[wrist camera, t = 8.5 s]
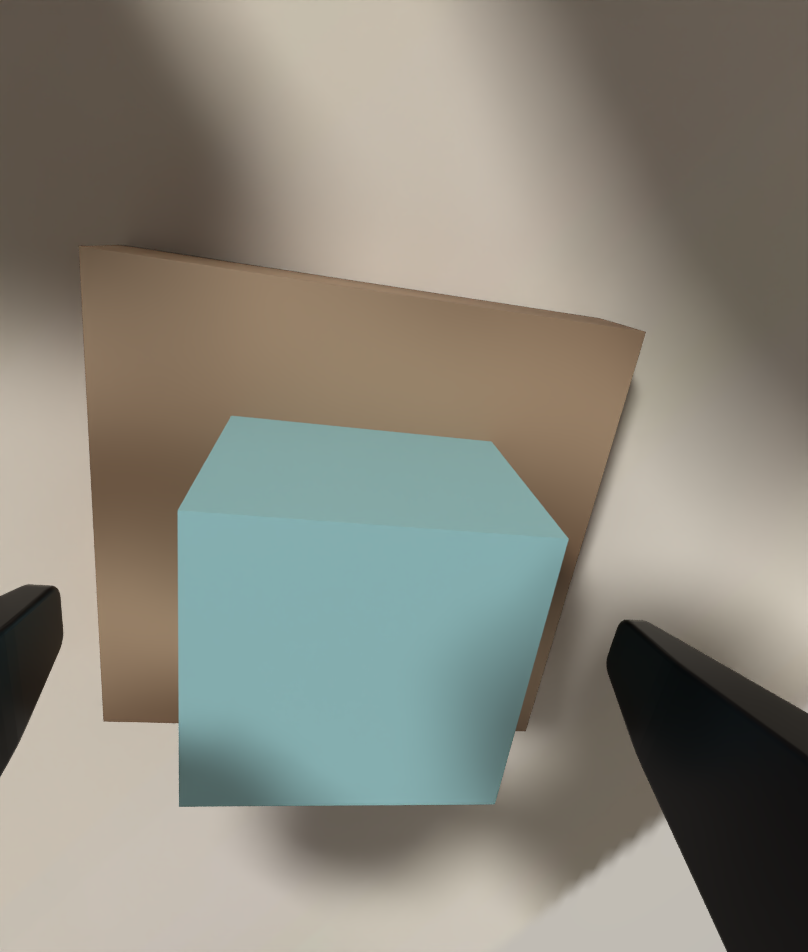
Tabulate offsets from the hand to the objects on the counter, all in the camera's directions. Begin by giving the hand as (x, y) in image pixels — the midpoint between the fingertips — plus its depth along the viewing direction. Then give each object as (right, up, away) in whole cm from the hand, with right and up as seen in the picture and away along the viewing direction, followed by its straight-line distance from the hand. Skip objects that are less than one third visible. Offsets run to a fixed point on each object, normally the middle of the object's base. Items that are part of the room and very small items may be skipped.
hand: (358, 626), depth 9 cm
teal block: (0, +1, +3) cm, 3 cm away
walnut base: (-1, +2, +4) cm, 5 cm away
